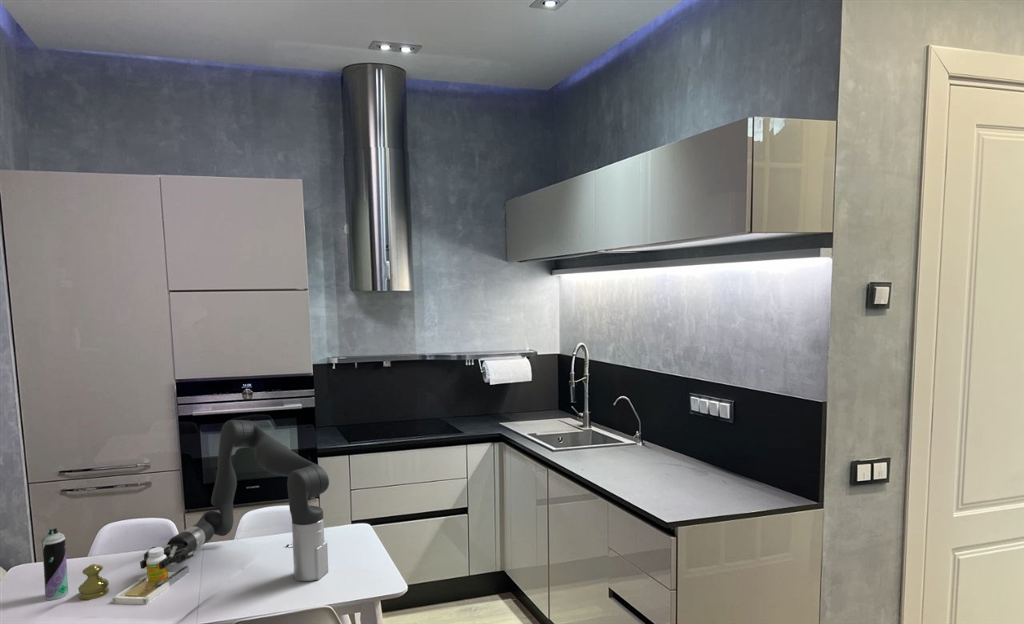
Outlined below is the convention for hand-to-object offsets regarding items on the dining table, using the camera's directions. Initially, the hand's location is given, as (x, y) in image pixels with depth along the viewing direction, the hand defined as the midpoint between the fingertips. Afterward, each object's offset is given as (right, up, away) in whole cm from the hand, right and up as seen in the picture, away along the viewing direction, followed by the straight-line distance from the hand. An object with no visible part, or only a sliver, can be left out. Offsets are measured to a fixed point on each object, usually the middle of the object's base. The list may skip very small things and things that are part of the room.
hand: (151, 565), depth 191 cm
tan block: (-1, -8, -6) cm, 10 cm away
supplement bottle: (+1, -6, +3) cm, 7 cm away
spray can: (-28, -9, 0) cm, 29 cm away
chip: (0, -8, -2) cm, 8 cm away
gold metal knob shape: (-15, -9, -3) cm, 18 cm away
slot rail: (+1, -8, +6) cm, 10 cm away
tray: (0, -8, -4) cm, 9 cm away
